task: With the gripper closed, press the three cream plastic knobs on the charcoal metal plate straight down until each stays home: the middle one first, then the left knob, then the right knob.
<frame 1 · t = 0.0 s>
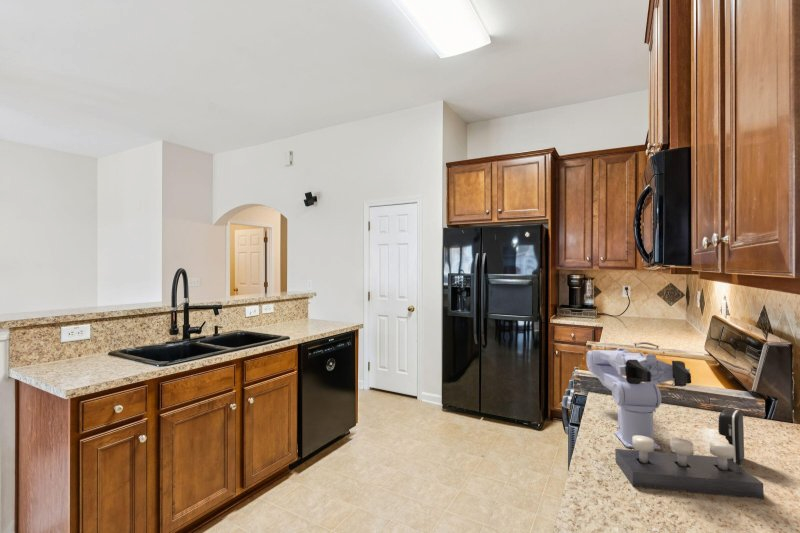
hand: (668, 377, 83), 22 cm above the countertop, tool horizontal, fingers open, 7 cm apart
knob 1: (643, 450, 85), point 5 cm above the countertop, slide at 0.0 cm
battery charger: (731, 460, 92), on the countertop
knob 2: (722, 456, 82), point 5 cm above the countertop, slide at 0.0 cm
knob mid: (681, 453, 83), point 5 cm above the countertop, slide at 0.0 cm
mount plate: (682, 478, 83), on the countertop
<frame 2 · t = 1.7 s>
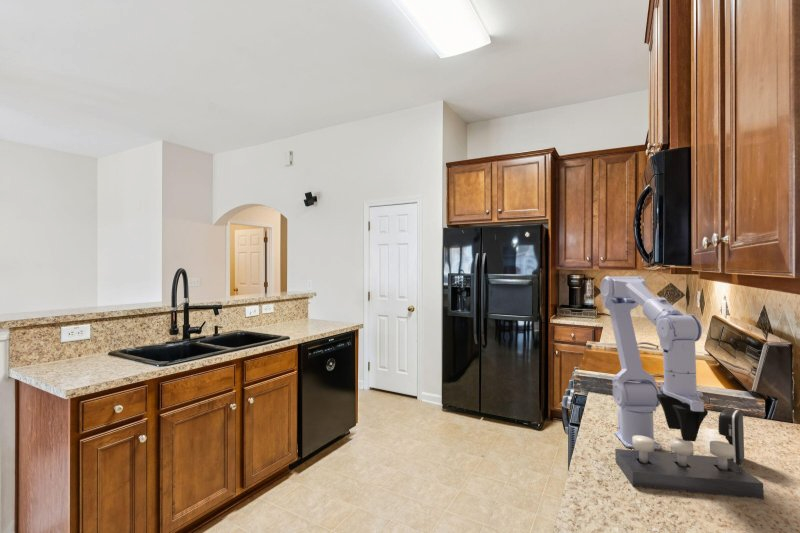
hand: (681, 434, 83), 9 cm above the countertop, tool pointing down, fingers open, 6 cm apart
nothing on the countertop moved.
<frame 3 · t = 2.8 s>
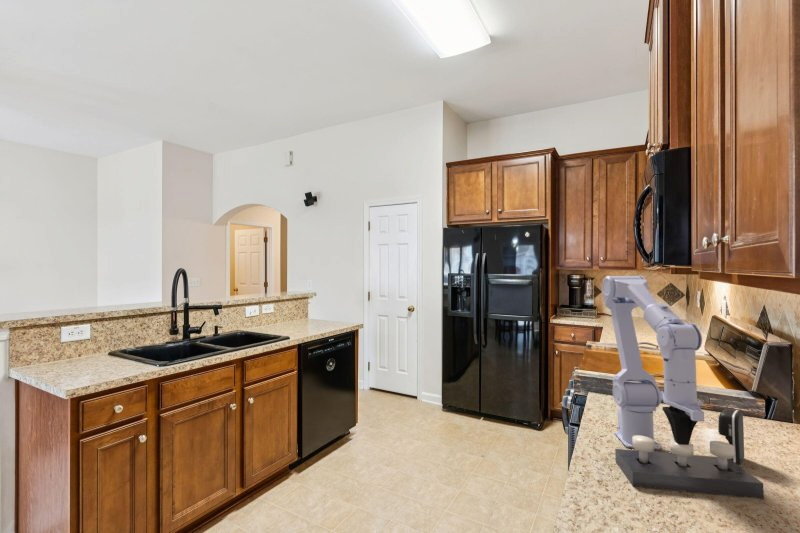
hand: (681, 443, 83), 7 cm above the countertop, tool pointing down, fingers closed, pressing on knob mid
knob mid: (682, 454, 83), point 5 cm above the countertop, slide at 0.3 cm, touching gripper
everything else where it was.
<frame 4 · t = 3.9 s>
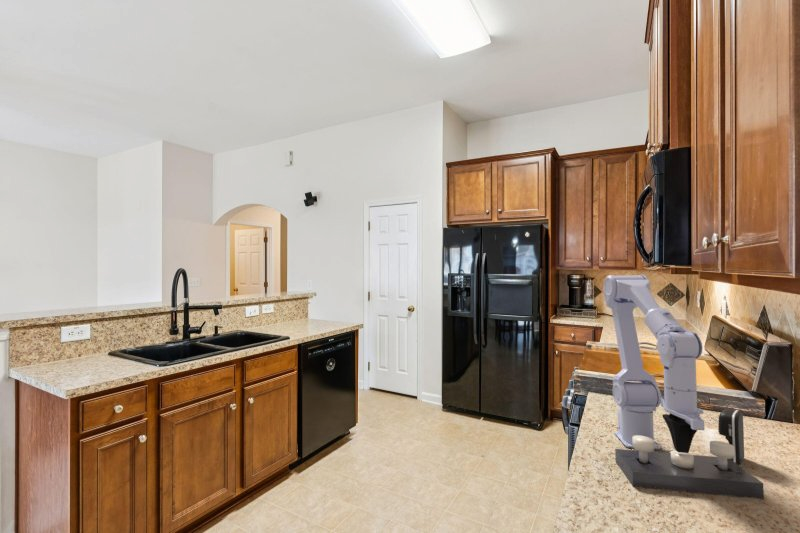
hand: (681, 451, 83), 6 cm above the countertop, tool pointing down, fingers closed
knob mid: (682, 466, 83), point 3 cm above the countertop, slide at 2.7 cm
everything else where it was.
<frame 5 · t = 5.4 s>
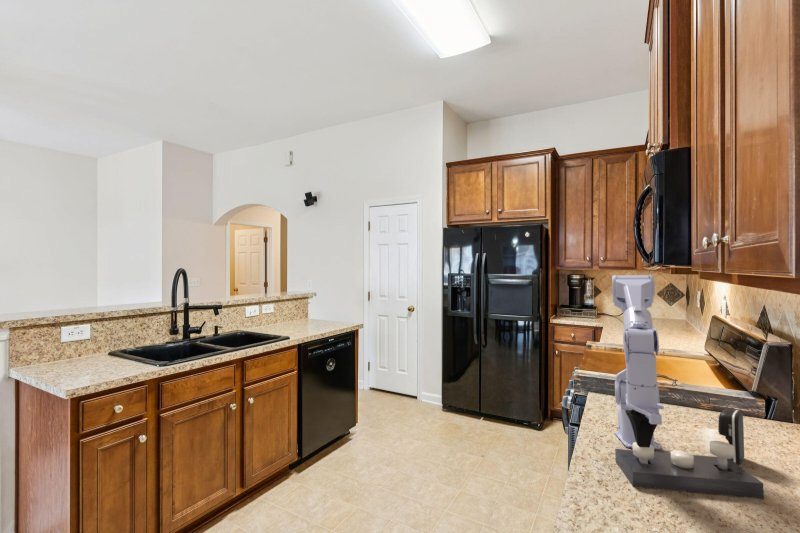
hand: (643, 446, 85), 6 cm above the countertop, tool pointing down, fingers closed, pressing on knob 1
knob 1: (643, 457, 85), point 4 cm above the countertop, slide at 1.5 cm, touching gripper
everything else where it was.
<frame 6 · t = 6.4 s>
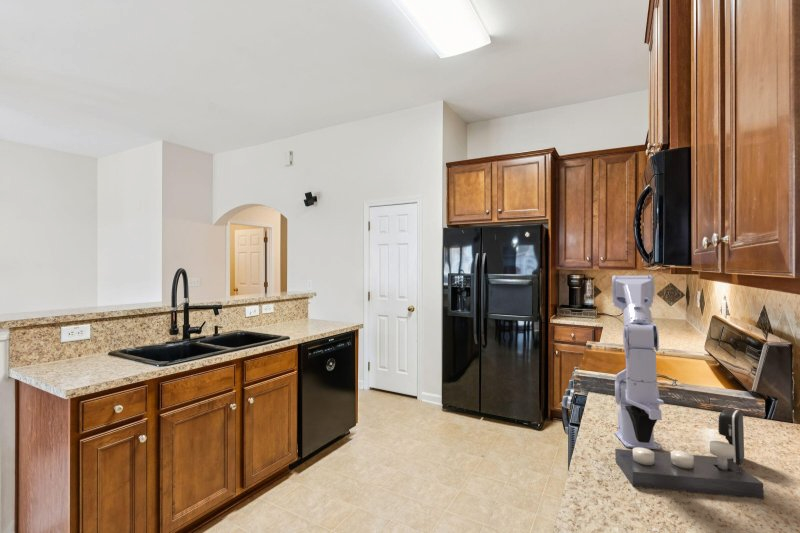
hand: (642, 441, 85), 7 cm above the countertop, tool pointing down, fingers closed
knob 1: (643, 462, 85), point 3 cm above the countertop, slide at 2.7 cm
everything else where it was.
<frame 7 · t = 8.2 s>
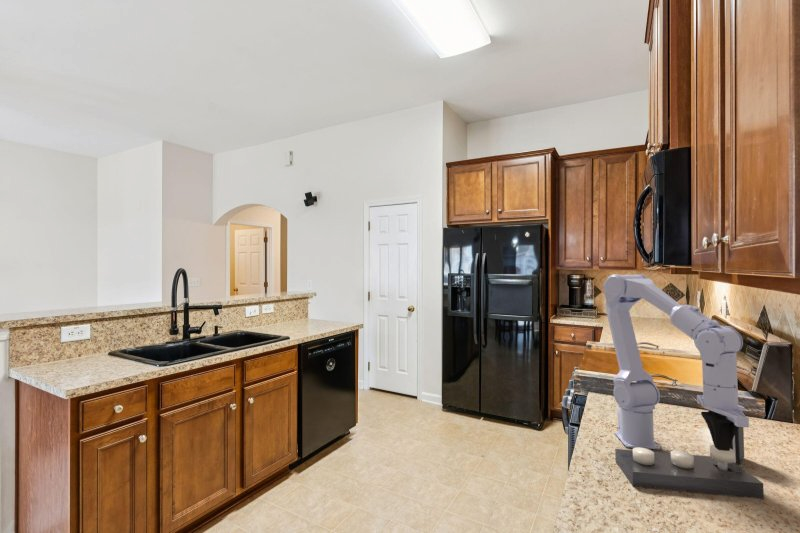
hand: (722, 449, 82), 7 cm above the countertop, tool pointing down, fingers closed, pressing on knob 2
knob 2: (722, 460, 82), point 4 cm above the countertop, slide at 0.9 cm, touching gripper
everything else where it was.
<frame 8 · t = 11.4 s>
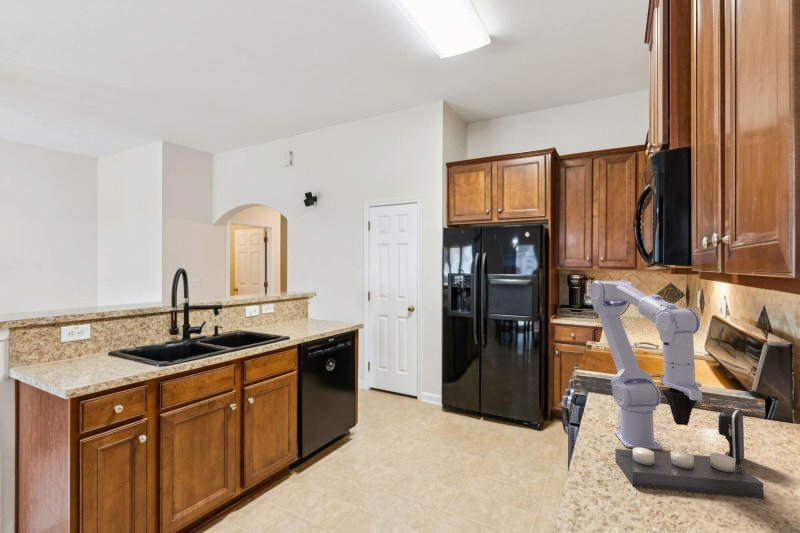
hand: (681, 423, 87), 10 cm above the countertop, tool pointing down, fingers closed
knob 2: (722, 469, 82), point 3 cm above the countertop, slide at 2.7 cm
everything else where it was.
at the end: knob mid slide at 2.7 cm; knob 1 slide at 2.7 cm; knob 2 slide at 2.7 cm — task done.
